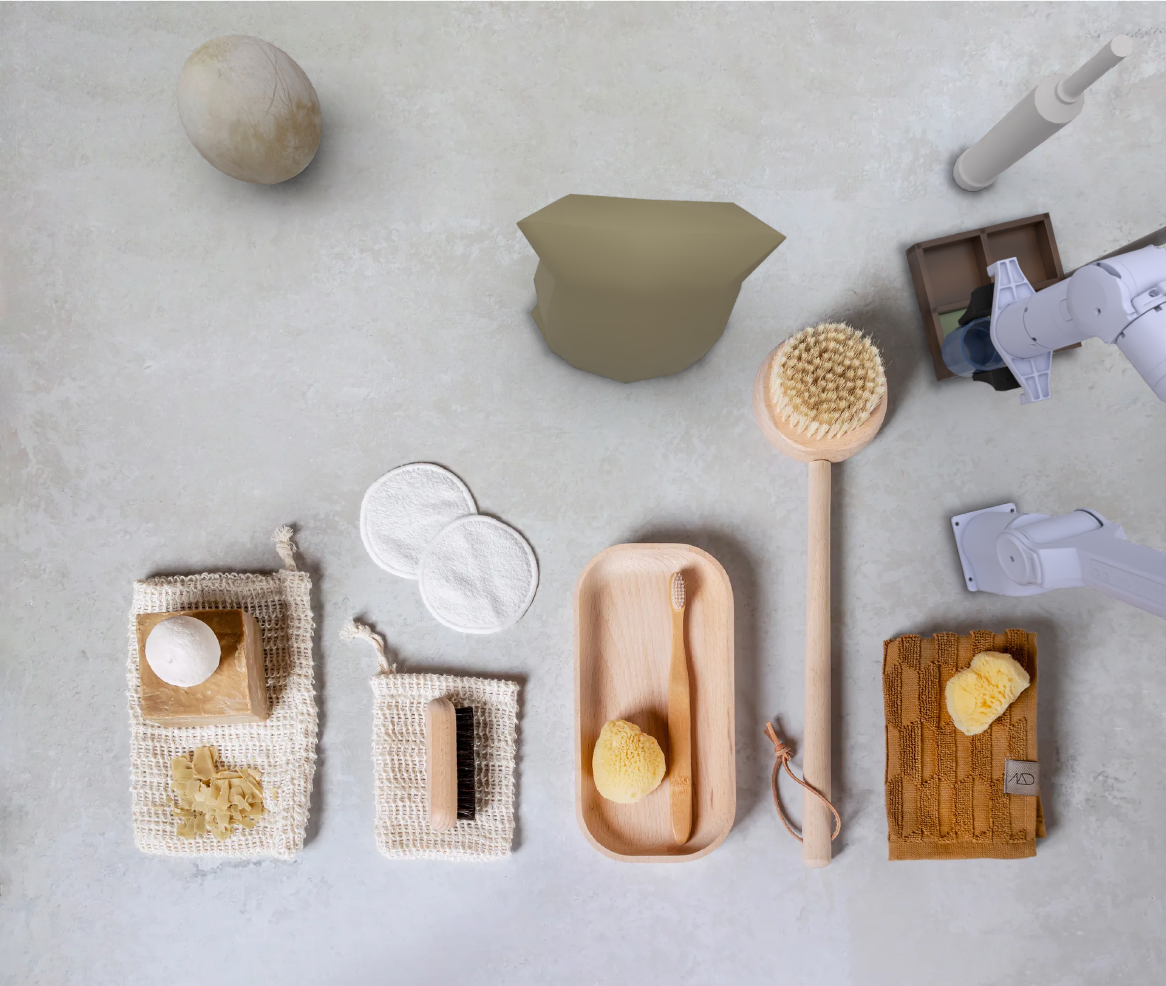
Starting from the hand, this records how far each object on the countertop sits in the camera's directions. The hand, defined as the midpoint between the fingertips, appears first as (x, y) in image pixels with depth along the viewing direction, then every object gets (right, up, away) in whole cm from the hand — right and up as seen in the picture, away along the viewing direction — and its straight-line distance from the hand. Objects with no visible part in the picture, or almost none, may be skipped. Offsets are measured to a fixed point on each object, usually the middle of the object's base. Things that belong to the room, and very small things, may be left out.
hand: (974, 348), depth 81 cm
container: (-38, +5, +9) cm, 40 cm away
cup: (0, 0, +2) cm, 2 cm away
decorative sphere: (-81, +27, +9) cm, 86 cm away
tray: (+7, +8, +9) cm, 14 cm away
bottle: (+5, +24, +9) cm, 26 cm away
